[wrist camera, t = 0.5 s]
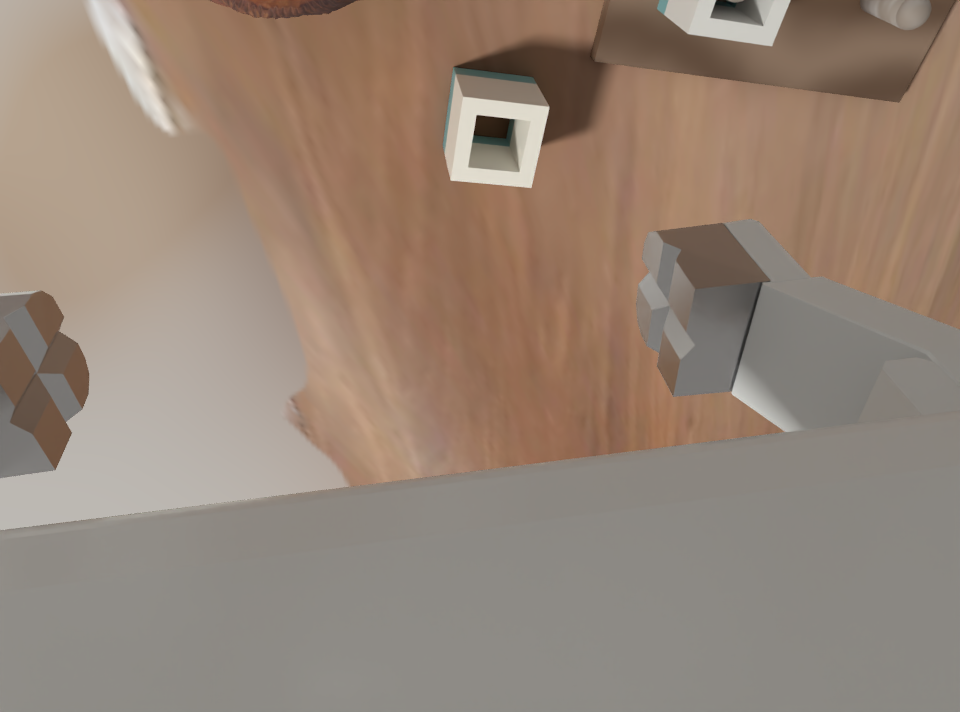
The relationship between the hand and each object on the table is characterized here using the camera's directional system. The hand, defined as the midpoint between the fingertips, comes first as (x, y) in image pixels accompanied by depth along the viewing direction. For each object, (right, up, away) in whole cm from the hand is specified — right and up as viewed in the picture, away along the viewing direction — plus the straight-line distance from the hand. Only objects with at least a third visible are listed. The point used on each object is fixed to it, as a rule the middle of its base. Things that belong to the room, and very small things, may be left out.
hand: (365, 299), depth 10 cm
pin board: (+24, +26, +40) cm, 53 cm away
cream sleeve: (+2, +18, +43) cm, 47 cm away
